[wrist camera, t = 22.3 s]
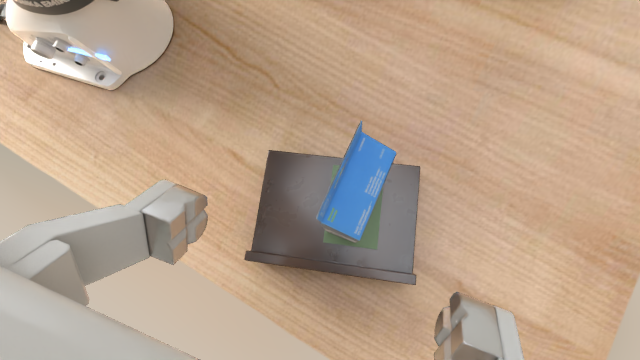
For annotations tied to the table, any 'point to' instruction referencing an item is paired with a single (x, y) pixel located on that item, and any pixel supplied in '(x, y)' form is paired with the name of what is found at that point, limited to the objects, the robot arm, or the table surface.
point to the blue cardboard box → (356, 187)
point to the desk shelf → (326, 248)
